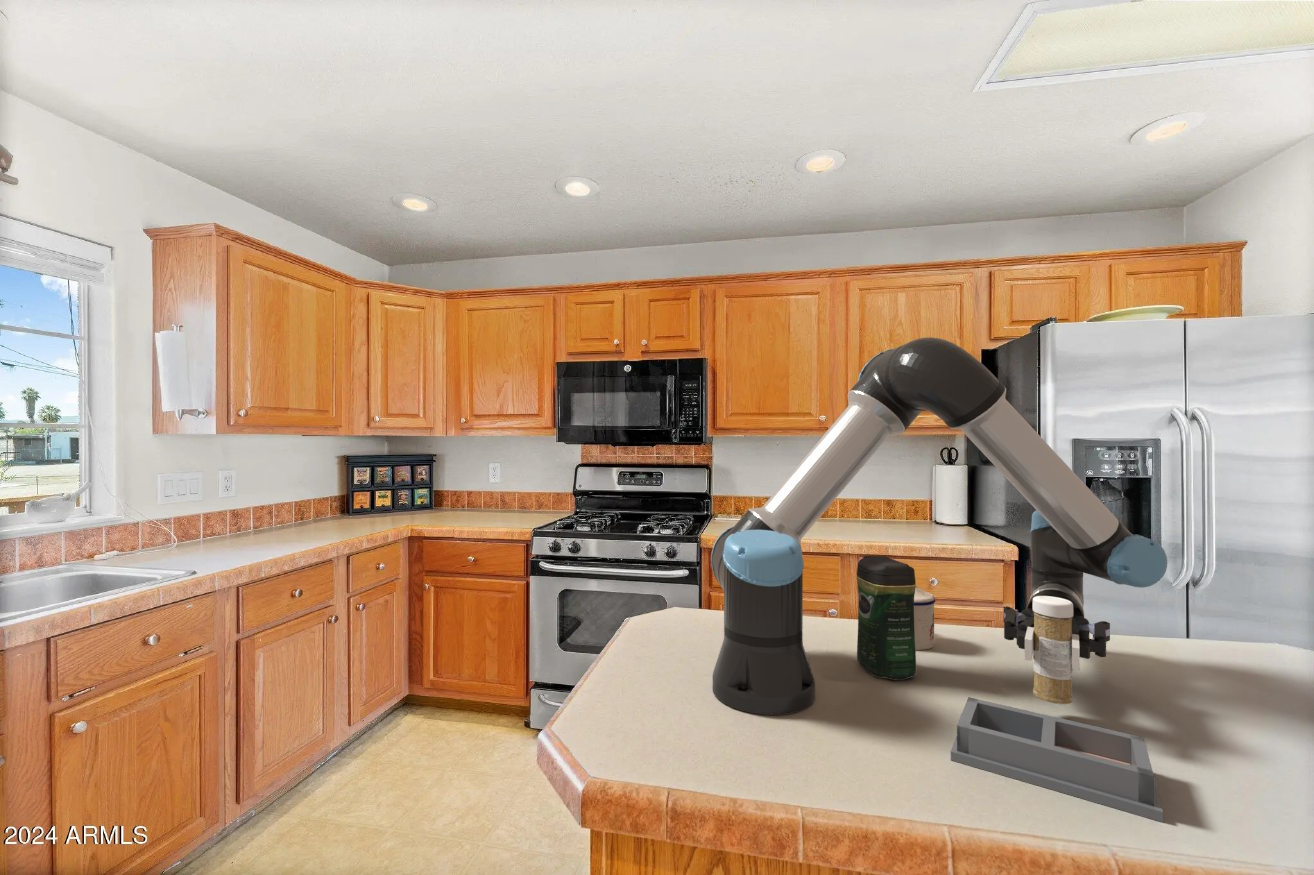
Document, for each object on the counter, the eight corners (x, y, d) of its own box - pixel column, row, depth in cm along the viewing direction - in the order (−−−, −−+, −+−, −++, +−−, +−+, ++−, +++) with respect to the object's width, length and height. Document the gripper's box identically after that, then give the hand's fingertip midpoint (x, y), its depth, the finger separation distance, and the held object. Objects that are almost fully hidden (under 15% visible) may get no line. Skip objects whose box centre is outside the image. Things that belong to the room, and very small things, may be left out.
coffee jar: (925, 681, 89) (924, 563, 90) (876, 683, 89) (876, 564, 89) (894, 658, 99) (893, 551, 99) (850, 659, 98) (849, 552, 99)
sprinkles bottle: (1037, 688, 80) (1037, 592, 81) (1076, 698, 77) (1076, 599, 77) (1028, 697, 77) (1028, 598, 77) (1069, 709, 74) (1069, 605, 74)
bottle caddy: (950, 759, 67) (950, 725, 67) (964, 724, 76) (964, 694, 76) (1163, 822, 56) (1162, 781, 56) (1150, 772, 64) (1150, 736, 65)
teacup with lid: (943, 652, 102) (943, 587, 102) (891, 650, 103) (891, 585, 103) (919, 630, 114) (919, 572, 114) (872, 629, 115) (872, 571, 115)
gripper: (1124, 647, 87) (1140, 702, 68) (993, 625, 97) (974, 667, 78) (1124, 598, 87) (1139, 638, 68) (993, 581, 97) (974, 612, 78)
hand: (1051, 654), depth 73 cm, fingers closed on sprinkles bottle, 4 cm apart
